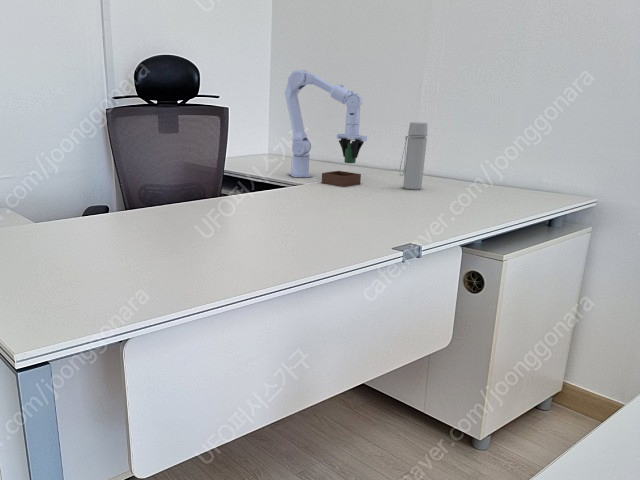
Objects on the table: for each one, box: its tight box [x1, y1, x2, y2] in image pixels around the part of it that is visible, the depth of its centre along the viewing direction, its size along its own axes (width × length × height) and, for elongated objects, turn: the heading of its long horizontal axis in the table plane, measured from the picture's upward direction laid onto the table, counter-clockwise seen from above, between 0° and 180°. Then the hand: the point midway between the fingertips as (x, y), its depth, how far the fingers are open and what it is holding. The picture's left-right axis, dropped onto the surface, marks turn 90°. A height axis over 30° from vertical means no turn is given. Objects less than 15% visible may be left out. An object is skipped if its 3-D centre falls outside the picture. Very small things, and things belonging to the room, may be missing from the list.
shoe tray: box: [321, 170, 362, 188], centre depth 245 cm, size 12×10×4 cm
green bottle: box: [343, 142, 357, 164], centre depth 253 cm, size 5×5×8 cm
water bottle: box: [399, 121, 429, 191], centre depth 230 cm, size 9×8×25 cm
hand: (350, 157), depth 253 cm, fingers closed on green bottle, 4 cm apart
